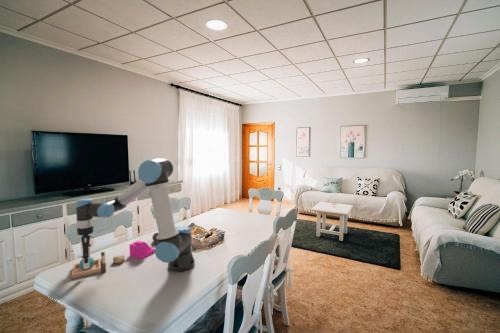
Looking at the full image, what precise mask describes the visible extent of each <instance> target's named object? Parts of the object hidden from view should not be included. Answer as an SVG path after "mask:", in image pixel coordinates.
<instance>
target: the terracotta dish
mask: <svg viewBox="0 0 500 333" xmlns="http://www.w3.org/2000/svg"><path fill="white" fill-rule="evenodd" d="M79 263H80V262H78V263H73V264H72V270H71V280H74V279H79V278H84V277H88V276H92V275H97V274H100V273H102V261H101V258H98V259H94V265H93V267H92V268H90V269H89V270H82V269H81V268H80V266H79Z"/></svg>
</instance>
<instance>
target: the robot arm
mask: <svg viewBox="0 0 500 333" xmlns="http://www.w3.org/2000/svg"><path fill="white" fill-rule="evenodd" d="M173 171H174V165H173V164H172V162H171V161H170V160H169V159H167V158H163V157H161V158H150V159H147V160H144V161H143V162H141V164H140V165H139V167H138V168H137V175H138V178H139V179H138V180H137V181H136V182H134V183H133V184H132V185H130V186H129V187H127V188H126V189H125V190H124V191H122V192H121V193H119V194H118V195H117V196H116V197H114V198H113V199H109V200H106V201H104V202H93V199H92V198H87V197H86V198H80V199H77V200H76V201H75V213H76V214H75V215H76V233H77V235H78V236H81V239H80V240H81V246H82V256H81V259H83V269H87V268H90V266H89V257H91V253H90V248H91V244H90V243H91V242H90V240H91V234H93V233H94V221H95V219H94V218H103V219H106V218H111V217H112V216H113V215H114V214H115V213H116V212H119V211H122V210H123V209H125V208H127V206H128V205H129V204H130V203H132V202H133V201H134V200H136V199H137V198H139V197H140V196H142V195H143V194H144V193H145V192H147V191H148V190H149V193H150V194H149V195H150V199H151V203H152V207H153V212H154V218H155V223H156V227H157V233H159V234H158V236H157V237H156V239H157V243H158V244H157V245H156V246H155V253H154V255H155V257H156V258H157V260H159V261H161V262H162V263H164V264H165V263H166V264H167V268H168V270H169V271H171V272H176V273H179V272H182V273H183V272H186V271H188V270H191V269H192V268H193V267H194V266H195V258H194V255H193V252H192V235H193V234H192V229H191V227H189V226H176V225H175V221H174V216H173V211H172V207H171V202H170V196H169V192H168V187H167V185H168V184H169V182H170V181H169V178H170V177H171V176H172V174H173V173H174V172H173Z"/></svg>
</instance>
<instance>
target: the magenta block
mask: <svg viewBox="0 0 500 333" xmlns="http://www.w3.org/2000/svg"><path fill="white" fill-rule="evenodd" d="M153 254H155V249H154V248H152V247H151V246H149V244H148V243H147V242H146V241H142V240H137V241H133V242H132V243H130V244H129V256H130V257H132V258H136V259H139V260H143V259H145V258H147V257H149V256H150V255H153Z"/></svg>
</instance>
